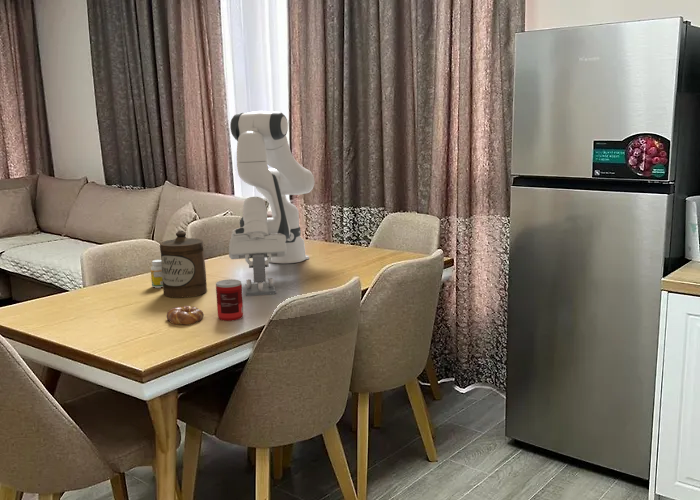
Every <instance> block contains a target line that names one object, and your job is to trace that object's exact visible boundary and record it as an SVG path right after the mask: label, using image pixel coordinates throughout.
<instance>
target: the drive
mask: <svg viewBox="0 0 700 500" xmlns="http://www.w3.org/2000/svg"><path fill="white" fill-rule="evenodd" d="M251 260H252V261H253V268H252V275H253V277H252V279H253V284H256V283H257V282H263V283H267V281H266V279H267V278H266V267H265V256H264V253H262V254H252V258H251Z"/></svg>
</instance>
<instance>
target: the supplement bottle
mask: <svg viewBox="0 0 700 500" xmlns="http://www.w3.org/2000/svg"><path fill="white" fill-rule="evenodd" d="M151 265H152V266H151V267H150V278H151V280H150V281H151V287H152V288H153V287H155V288H154V289H162V288H161V287H163V281H162V263H161V259H154V260H152V261H151Z"/></svg>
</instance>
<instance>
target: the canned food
mask: <svg viewBox="0 0 700 500" xmlns="http://www.w3.org/2000/svg"><path fill="white" fill-rule="evenodd" d="M215 295H216V308H217V318H218V319H219V320H220V321H223V320H224V322H231V321H232V320H234V321H239V320H240V319H242V318H243V316H244V305H243V301H244V300H243V285H242V280H239V279H232V278H231V279H230V278H229V279H223V280H218V281H216V282H215Z"/></svg>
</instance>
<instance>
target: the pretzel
mask: <svg viewBox="0 0 700 500" xmlns="http://www.w3.org/2000/svg"><path fill="white" fill-rule="evenodd" d="M204 315H205V314H204V311H203V310H201V309H199V307H196V306H190V305H183V306H175V307H173V308H171V309H169V310H168V311H167V312H166V320H167V321H168V322H170V321H171V322H172V323H171V322H170V323H171V324H173V325H183V326H187V325H189V324H190V325H193V324H195V323H196V322H197V321H198V322H200V321H201V320H202V319H203V317H204Z"/></svg>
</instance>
